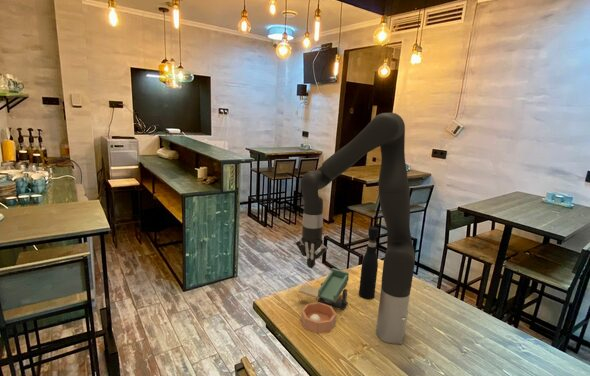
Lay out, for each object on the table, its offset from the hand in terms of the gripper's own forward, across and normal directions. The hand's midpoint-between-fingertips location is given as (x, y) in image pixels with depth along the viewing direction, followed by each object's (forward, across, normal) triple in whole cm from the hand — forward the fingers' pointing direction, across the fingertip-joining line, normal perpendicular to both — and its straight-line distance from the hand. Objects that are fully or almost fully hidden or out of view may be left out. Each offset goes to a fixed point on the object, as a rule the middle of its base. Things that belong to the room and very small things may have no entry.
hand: (310, 267), depth 121 cm
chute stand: (+16, -8, -6) cm, 19 cm away
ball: (+14, -8, +11) cm, 19 cm away
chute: (+12, -4, -6) cm, 13 cm away
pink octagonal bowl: (+16, -8, +8) cm, 20 cm away
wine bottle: (+16, -18, -19) cm, 31 cm away
